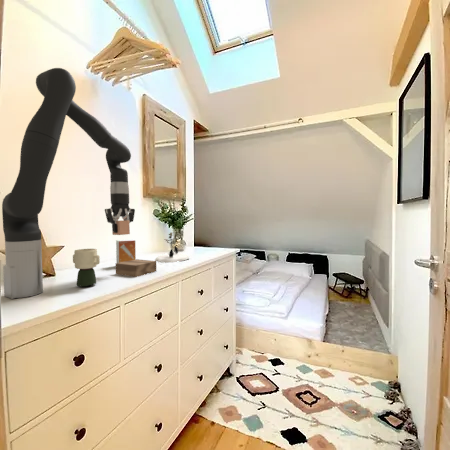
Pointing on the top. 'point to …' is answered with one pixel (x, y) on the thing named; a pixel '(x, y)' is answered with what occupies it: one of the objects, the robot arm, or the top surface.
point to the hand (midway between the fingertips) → (121, 232)
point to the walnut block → (135, 267)
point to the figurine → (172, 254)
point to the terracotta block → (122, 228)
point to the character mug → (86, 266)
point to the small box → (125, 250)
